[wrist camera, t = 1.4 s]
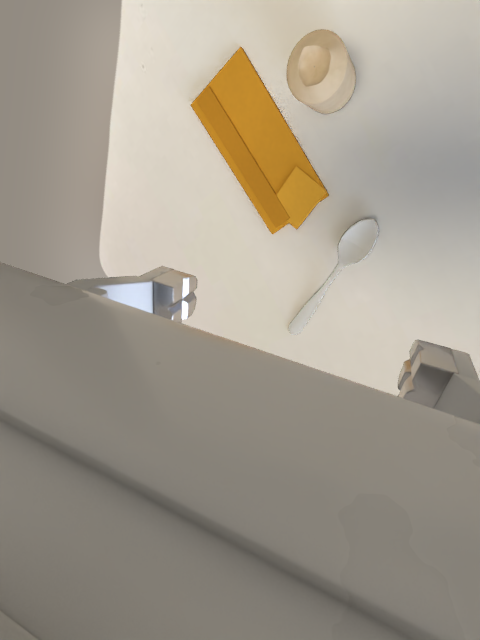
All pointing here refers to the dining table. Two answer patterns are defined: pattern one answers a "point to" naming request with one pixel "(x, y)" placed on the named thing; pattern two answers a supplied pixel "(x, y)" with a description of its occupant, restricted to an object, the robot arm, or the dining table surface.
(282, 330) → the dining table surface
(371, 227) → the spoon
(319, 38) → the candle
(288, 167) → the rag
